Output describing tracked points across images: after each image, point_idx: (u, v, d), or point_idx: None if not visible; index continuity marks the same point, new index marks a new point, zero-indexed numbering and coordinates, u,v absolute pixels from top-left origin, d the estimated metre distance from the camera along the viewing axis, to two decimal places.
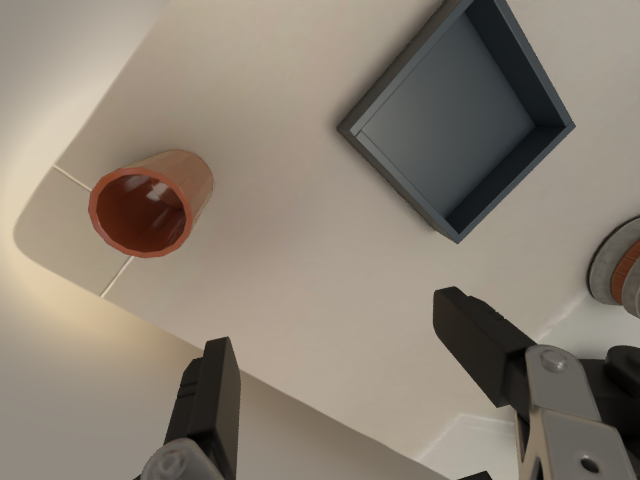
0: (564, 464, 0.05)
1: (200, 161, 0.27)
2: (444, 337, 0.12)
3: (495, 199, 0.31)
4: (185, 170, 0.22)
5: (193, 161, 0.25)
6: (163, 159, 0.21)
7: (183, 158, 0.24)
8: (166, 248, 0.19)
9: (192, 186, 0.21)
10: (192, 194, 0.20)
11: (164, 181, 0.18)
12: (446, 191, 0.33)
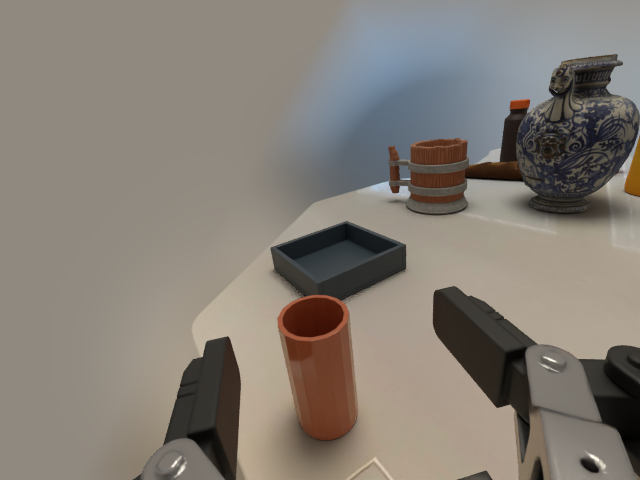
0: (564, 464, 0.05)
1: None
2: (444, 337, 0.12)
3: (378, 235, 0.53)
4: None
5: None
6: None
7: None
8: (343, 310, 0.24)
9: None
10: None
11: (296, 301, 0.26)
12: None
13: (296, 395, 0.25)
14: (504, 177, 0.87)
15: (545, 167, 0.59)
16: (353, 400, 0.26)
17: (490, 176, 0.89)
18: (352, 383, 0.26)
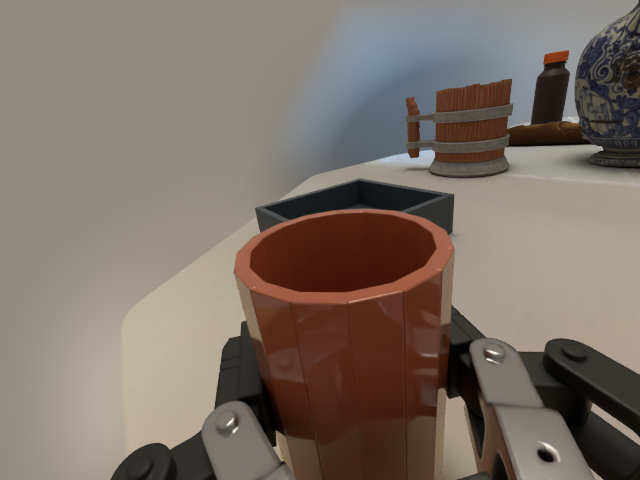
0: (525, 460, 0.05)
1: None
2: None
3: (408, 188, 0.37)
4: None
5: None
6: None
7: None
8: (425, 227, 0.09)
9: None
10: None
11: (290, 222, 0.10)
12: None
13: (293, 471, 0.09)
14: (542, 141, 0.72)
15: (626, 101, 0.44)
16: (440, 475, 0.10)
17: (524, 141, 0.74)
18: (443, 433, 0.10)
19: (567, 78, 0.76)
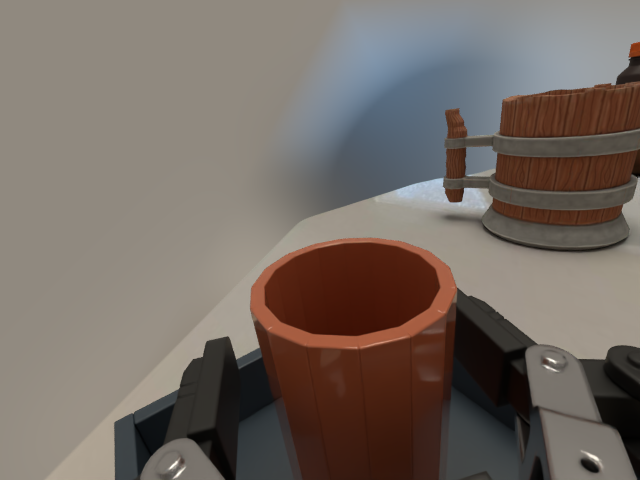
0: (564, 464, 0.05)
1: None
2: None
3: None
4: None
5: None
6: None
7: None
8: (429, 262, 0.09)
9: None
10: None
11: (299, 252, 0.11)
12: None
13: None
14: (639, 171, 0.49)
15: None
16: None
17: None
18: (446, 454, 0.10)
19: None
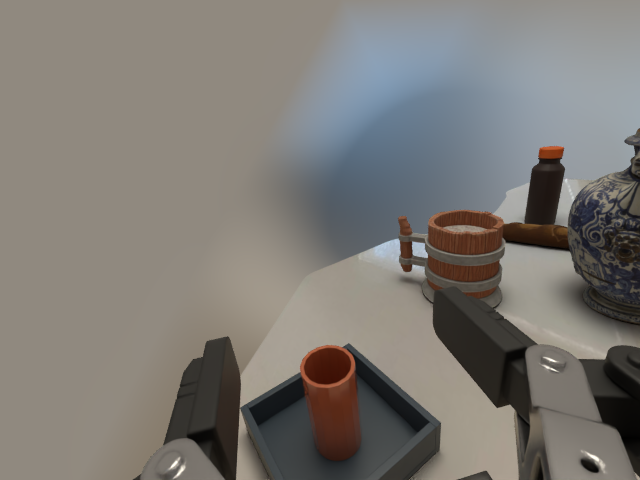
0: (564, 464, 0.05)
1: None
2: (444, 337, 0.12)
3: (395, 390, 0.36)
4: None
5: None
6: None
7: None
8: (350, 359, 0.32)
9: None
10: None
11: (313, 351, 0.33)
12: (395, 436, 0.35)
13: (314, 426, 0.32)
14: (537, 243, 0.72)
15: (618, 270, 0.43)
16: (359, 428, 0.33)
17: (519, 240, 0.74)
18: (358, 415, 0.33)
19: (562, 174, 0.76)
